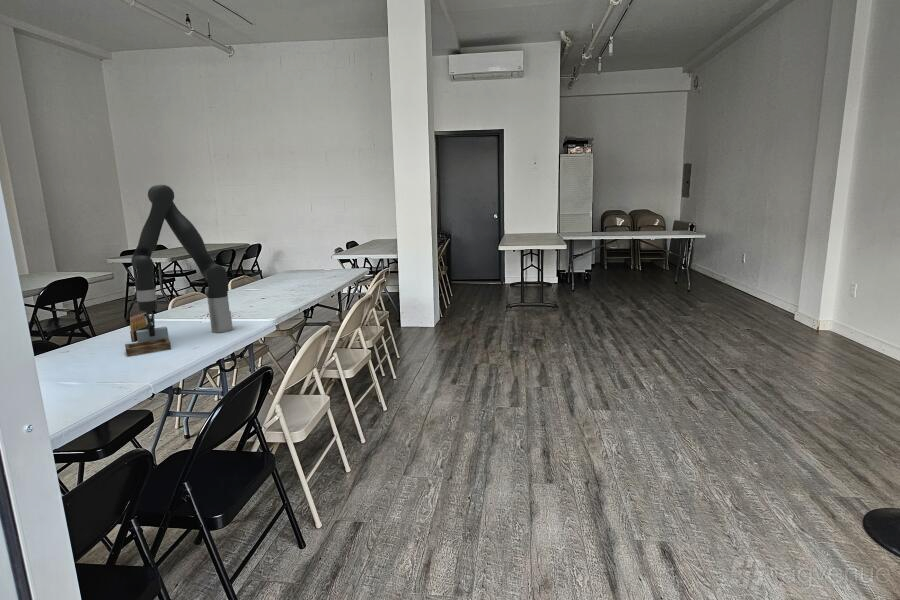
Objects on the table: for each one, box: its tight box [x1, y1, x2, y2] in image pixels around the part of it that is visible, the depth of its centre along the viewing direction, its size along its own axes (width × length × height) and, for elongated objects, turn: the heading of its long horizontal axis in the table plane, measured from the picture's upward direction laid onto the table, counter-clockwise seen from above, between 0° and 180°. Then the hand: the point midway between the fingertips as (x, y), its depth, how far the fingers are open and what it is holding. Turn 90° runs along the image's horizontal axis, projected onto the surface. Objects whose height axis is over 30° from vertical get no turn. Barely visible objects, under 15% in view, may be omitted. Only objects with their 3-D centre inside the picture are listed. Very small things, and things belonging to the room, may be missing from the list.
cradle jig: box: [124, 338, 172, 357], centre depth 222 cm, size 16×9×3 cm, turn 125°
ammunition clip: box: [129, 312, 147, 343], centre depth 241 cm, size 11×2×12 cm, turn 174°
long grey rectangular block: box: [136, 326, 170, 343], centre depth 232 cm, size 12×4×7 cm, turn 125°
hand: (151, 334), depth 231 cm, fingers open, 8 cm apart
